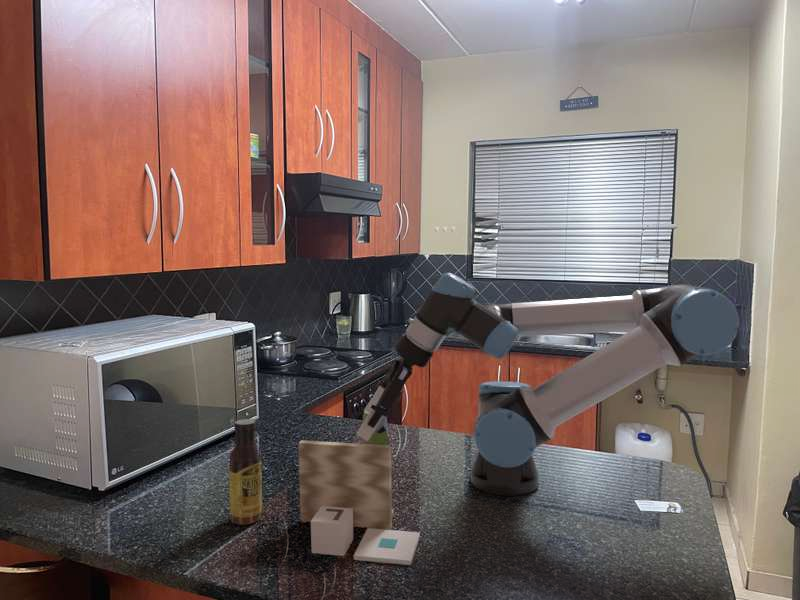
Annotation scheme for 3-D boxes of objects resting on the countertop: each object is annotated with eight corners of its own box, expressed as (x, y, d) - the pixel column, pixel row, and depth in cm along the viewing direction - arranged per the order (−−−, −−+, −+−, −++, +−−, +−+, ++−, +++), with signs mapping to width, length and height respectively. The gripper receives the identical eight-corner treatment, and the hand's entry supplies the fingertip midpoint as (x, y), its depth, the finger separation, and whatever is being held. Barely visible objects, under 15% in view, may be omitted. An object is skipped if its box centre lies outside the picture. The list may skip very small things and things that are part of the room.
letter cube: (353, 539, 110) (352, 508, 110) (344, 556, 105) (343, 523, 104) (321, 536, 112) (321, 505, 111) (311, 553, 106) (310, 520, 105)
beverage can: (394, 450, 157) (394, 405, 156) (378, 459, 151) (378, 412, 150) (374, 446, 160) (374, 402, 159) (358, 454, 154) (357, 409, 153)
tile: (419, 536, 111) (419, 531, 111) (410, 565, 101) (410, 560, 101) (367, 532, 113) (367, 527, 113) (353, 559, 103) (353, 554, 103)
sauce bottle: (245, 530, 114) (242, 429, 112) (223, 522, 118) (219, 423, 116) (270, 516, 120) (267, 420, 118) (247, 509, 123) (244, 415, 121)
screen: (396, 514, 120) (395, 437, 118) (390, 529, 114) (389, 448, 112) (311, 508, 123) (309, 432, 122) (300, 522, 117) (298, 443, 116)
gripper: (407, 320, 134) (358, 395, 138) (400, 348, 110) (341, 438, 114) (435, 337, 135) (386, 412, 138) (434, 369, 110) (375, 459, 114)
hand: (365, 424), depth 126 cm, fingers open, 13 cm apart
